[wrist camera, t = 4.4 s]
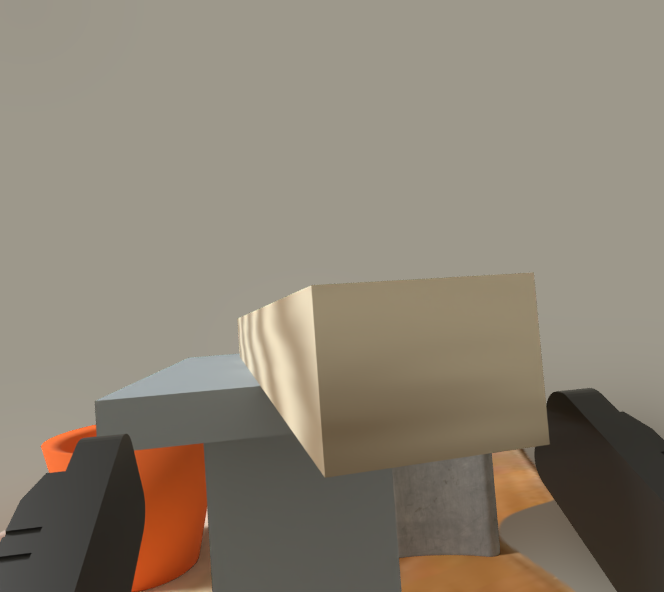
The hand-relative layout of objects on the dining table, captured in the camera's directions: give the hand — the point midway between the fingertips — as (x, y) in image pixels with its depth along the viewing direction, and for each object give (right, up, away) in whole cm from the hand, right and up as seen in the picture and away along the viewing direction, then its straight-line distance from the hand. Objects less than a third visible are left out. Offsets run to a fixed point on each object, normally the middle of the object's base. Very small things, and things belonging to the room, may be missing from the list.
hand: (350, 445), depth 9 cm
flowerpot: (-28, -37, +64) cm, 79 cm away
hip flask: (+16, -34, +62) cm, 72 cm away
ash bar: (-2, -1, +14) cm, 14 cm away
